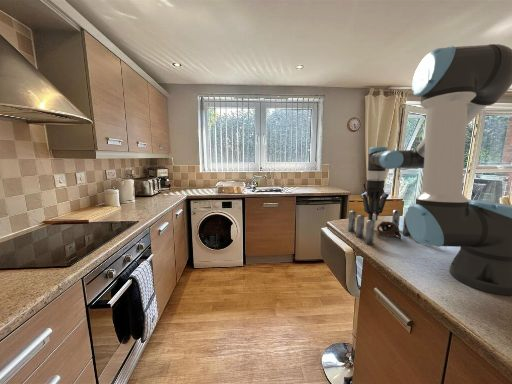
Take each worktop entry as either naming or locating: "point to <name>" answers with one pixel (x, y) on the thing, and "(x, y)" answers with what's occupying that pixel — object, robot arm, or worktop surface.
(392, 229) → the pottery mug
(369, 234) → the posts
